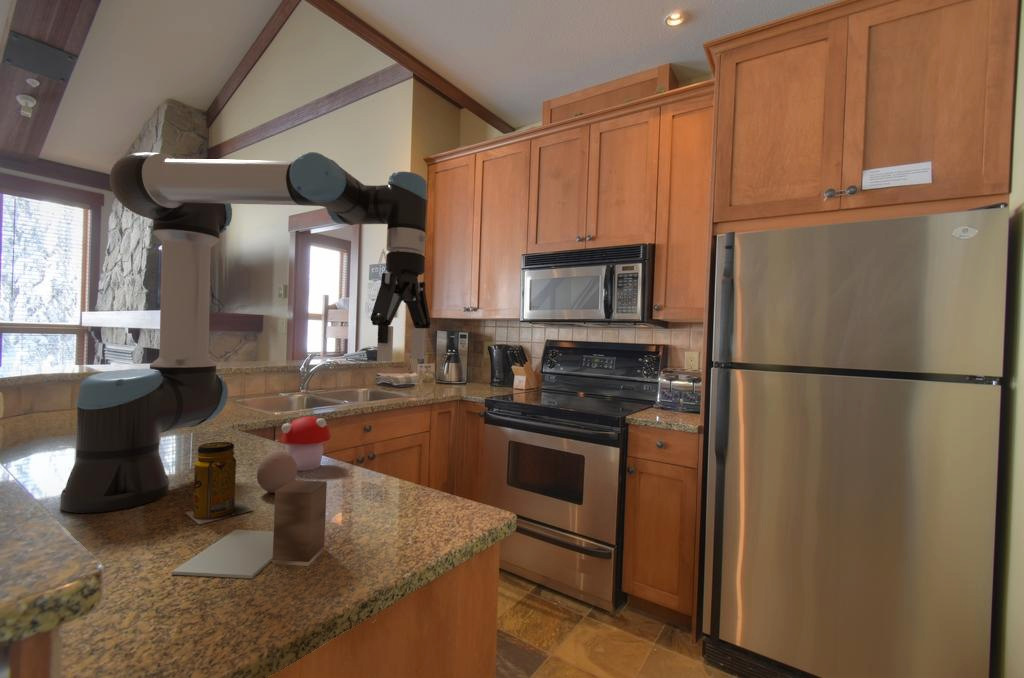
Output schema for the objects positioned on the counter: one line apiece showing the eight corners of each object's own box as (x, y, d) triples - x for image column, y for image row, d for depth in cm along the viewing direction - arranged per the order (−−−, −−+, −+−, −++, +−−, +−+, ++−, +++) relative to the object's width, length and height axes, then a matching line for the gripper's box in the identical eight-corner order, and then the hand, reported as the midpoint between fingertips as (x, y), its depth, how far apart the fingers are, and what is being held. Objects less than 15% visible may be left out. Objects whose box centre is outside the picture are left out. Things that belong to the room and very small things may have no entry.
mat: (171, 574, 59) (171, 571, 59) (235, 532, 72) (235, 529, 72) (251, 578, 59) (251, 575, 59) (300, 535, 72) (301, 532, 72)
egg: (265, 486, 94) (267, 445, 94) (302, 486, 95) (303, 446, 95) (249, 498, 87) (250, 454, 87) (288, 498, 88) (290, 455, 88)
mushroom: (269, 469, 106) (270, 417, 106) (306, 458, 116) (308, 410, 116) (304, 475, 102) (306, 421, 102) (339, 464, 112) (341, 414, 112)
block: (272, 563, 63) (275, 491, 63) (291, 547, 68) (293, 479, 68) (308, 565, 63) (311, 492, 63) (324, 549, 68) (326, 481, 68)
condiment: (184, 513, 79) (187, 443, 79) (238, 501, 86) (241, 437, 86) (198, 525, 75) (201, 451, 75) (254, 511, 81) (257, 443, 81)
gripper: (391, 239, 79) (387, 363, 79) (447, 263, 103) (444, 358, 103) (352, 240, 80) (348, 361, 80) (416, 264, 105) (413, 357, 105)
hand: (402, 360), depth 92 cm, fingers open, 13 cm apart
